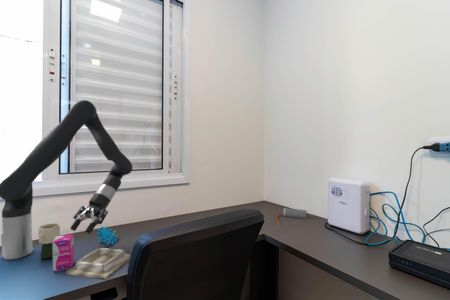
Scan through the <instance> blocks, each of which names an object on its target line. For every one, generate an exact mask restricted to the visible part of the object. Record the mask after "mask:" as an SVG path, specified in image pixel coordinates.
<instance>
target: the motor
mask: <svg viewBox="0 0 450 300" xmlns="http://www.w3.org/2000/svg"><path fill="white" fill-rule="evenodd" d="M281 216H284V217H290V218H297V219H299V218H300V219H307V217H308V216H309V217H315V216H316V215H315V214H310V213H309V214H308V213H307V209H306V210H305V209H295V208H287V207H284V208H283V214H277V215H276V216H275V220H276V223H277V225H278V226H280V222H279V220H278V217H281Z"/></svg>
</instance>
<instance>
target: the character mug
mask: <svg viewBox="0 0 450 300" xmlns="http://www.w3.org/2000/svg"><path fill="white" fill-rule="evenodd" d="M60 226H61V225H60V223H58V222H51V223H46V224H43V225H40V226H38V232H37V233H38V242H39V244H42V245H41V250H40V259H50V258H51V259H52V258H53V241H54V239H55V238H56V236H61V229H60V228H61V227H60Z"/></svg>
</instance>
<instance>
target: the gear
mask: <svg viewBox="0 0 450 300" xmlns="http://www.w3.org/2000/svg"><path fill="white" fill-rule="evenodd" d="M96 231H97V233H96V236H98V238H97V239H98V240H99V244H106V245H107V246H109V245H114V244H115V243H116V242H117V241H118V240H117V238H118V236H117V235H115V234H116V233H117V231H116V230H113V229H112V228H109V227H108V226H101V227H99V228H98V229H97V230H96Z"/></svg>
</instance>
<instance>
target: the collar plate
mask: <svg viewBox="0 0 450 300" xmlns="http://www.w3.org/2000/svg"><path fill="white" fill-rule="evenodd" d="M130 254H131V253H126V252H125V250H124V249H120V248H119V249H118V248H107V247H100V248H96V249H95V250H93V251H91V252H89V253H88V254H86V255H84V256H83V257H81V258H79V259H78V260H76V261H75V265H73V266H72V268H71V269H67V270H65V271H66V272H65V275H70V276H76V277H86V278H92V279H93V278H95V279H101V278H104V280H106V279H108V278H109V277H110V276H111V275H112V274H114V273H115V272H116V271H117V270H118V269H120V268H121V267H122V266H123V265H125V263H127V262H128V261H129V260H130V259H129V257H130ZM120 266H121V267H120ZM115 270H116V271H115ZM114 271H115V272H114ZM110 274H111V275H110ZM109 275H110V276H109Z"/></svg>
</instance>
